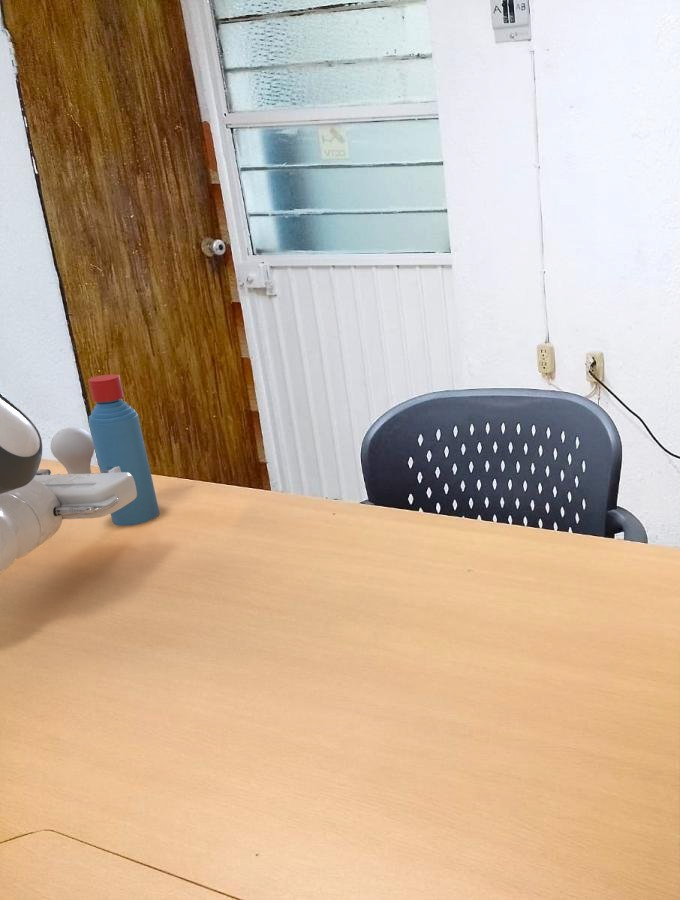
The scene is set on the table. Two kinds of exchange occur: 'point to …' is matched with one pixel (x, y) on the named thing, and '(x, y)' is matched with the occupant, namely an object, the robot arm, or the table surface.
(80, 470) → the lightbulb
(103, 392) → the cap
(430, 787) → the table surface
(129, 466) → the bottle
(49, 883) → the table surface
